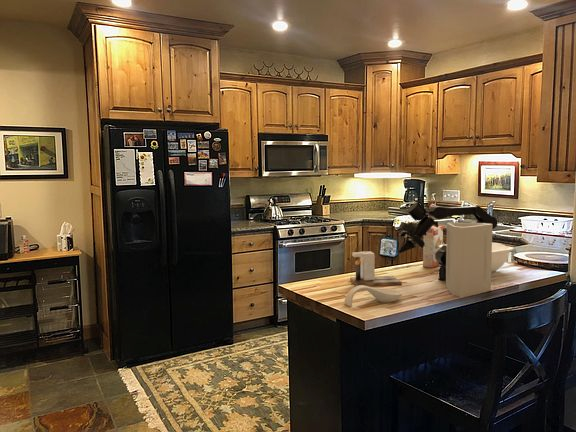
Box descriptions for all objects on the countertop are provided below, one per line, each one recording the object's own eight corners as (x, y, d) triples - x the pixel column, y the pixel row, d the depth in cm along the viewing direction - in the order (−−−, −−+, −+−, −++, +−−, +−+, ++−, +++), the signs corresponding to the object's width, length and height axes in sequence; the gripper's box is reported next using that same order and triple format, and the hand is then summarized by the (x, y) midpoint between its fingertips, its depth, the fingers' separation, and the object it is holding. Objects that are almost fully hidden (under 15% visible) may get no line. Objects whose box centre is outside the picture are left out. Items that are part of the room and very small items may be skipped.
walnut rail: (392, 278, 219) (392, 275, 218) (401, 284, 207) (401, 280, 207) (350, 280, 217) (350, 276, 216) (356, 286, 205) (356, 282, 204)
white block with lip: (370, 277, 214) (370, 251, 213) (374, 280, 208) (374, 253, 207) (351, 277, 213) (351, 252, 212) (354, 280, 207) (354, 254, 206)
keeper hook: (360, 279, 212) (360, 259, 211) (361, 280, 210) (361, 260, 209) (354, 279, 212) (354, 259, 211) (356, 280, 209) (355, 260, 208)
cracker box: (433, 268, 240) (434, 228, 238) (422, 267, 244) (422, 227, 242) (442, 263, 251) (443, 225, 250) (432, 262, 255) (432, 224, 253)
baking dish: (475, 280, 213) (476, 253, 212) (428, 269, 237) (429, 245, 236) (522, 271, 229) (523, 246, 228) (474, 262, 254) (474, 239, 253)
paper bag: (462, 283, 208) (463, 221, 205) (491, 290, 195) (493, 224, 193) (432, 289, 198) (433, 224, 195) (461, 297, 185) (463, 227, 183)
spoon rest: (390, 295, 191) (390, 278, 190) (408, 302, 180) (408, 284, 179) (339, 302, 181) (339, 284, 181) (355, 310, 171) (355, 291, 170)
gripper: (403, 213, 220) (380, 237, 220) (418, 217, 201) (393, 243, 201) (418, 229, 221) (396, 253, 221) (435, 235, 203) (410, 260, 203)
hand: (398, 252), depth 211 cm, fingers closed
